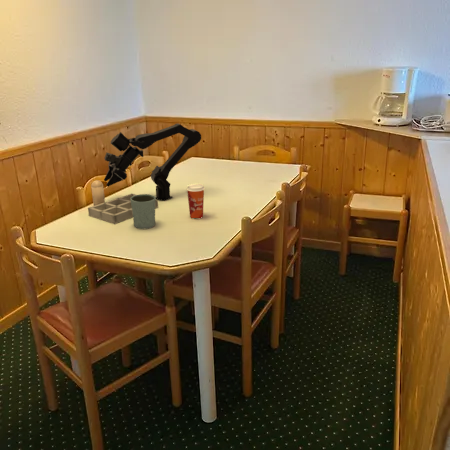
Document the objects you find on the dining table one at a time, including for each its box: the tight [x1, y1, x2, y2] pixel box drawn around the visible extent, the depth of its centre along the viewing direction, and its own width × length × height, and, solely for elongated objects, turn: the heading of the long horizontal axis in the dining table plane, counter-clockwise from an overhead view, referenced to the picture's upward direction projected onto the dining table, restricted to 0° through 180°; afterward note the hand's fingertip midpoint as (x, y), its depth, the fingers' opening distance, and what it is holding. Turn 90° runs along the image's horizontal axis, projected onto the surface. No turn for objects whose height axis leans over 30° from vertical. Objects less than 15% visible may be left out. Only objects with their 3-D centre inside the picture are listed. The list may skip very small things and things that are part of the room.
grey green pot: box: [130, 193, 157, 230], centre depth 180 cm, size 10×10×12 cm
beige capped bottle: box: [90, 179, 106, 206], centre depth 203 cm, size 5×5×12 cm
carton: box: [87, 193, 159, 225], centre depth 197 cm, size 17×25×4 cm
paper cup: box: [186, 183, 206, 219], centre depth 188 cm, size 8×8×14 cm
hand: (105, 183), depth 202 cm, fingers open, 9 cm apart
